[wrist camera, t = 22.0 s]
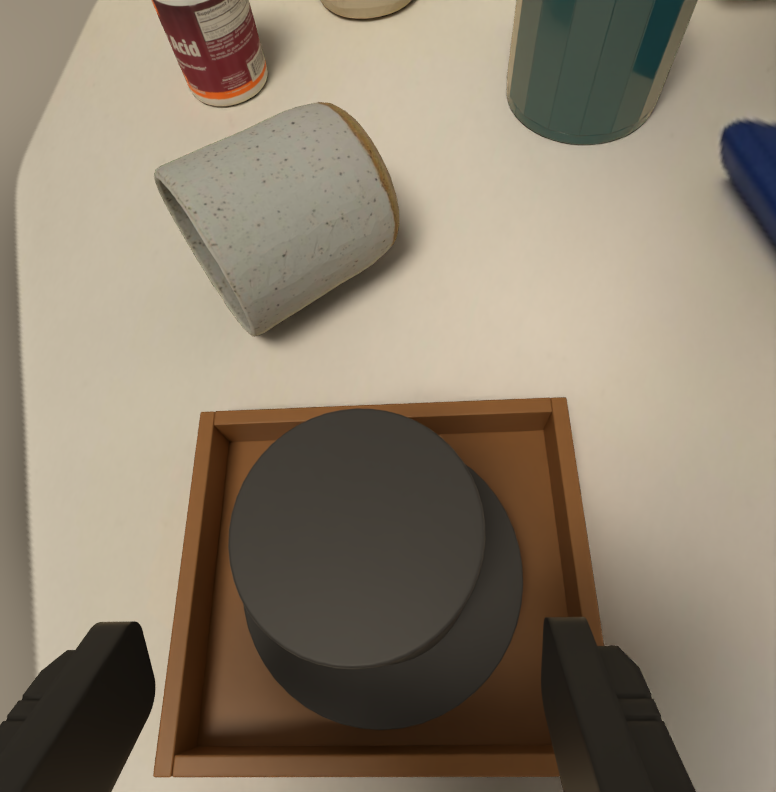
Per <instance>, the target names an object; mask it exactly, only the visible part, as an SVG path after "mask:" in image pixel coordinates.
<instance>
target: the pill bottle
mask: <svg viewBox="0 0 776 792" xmlns="http://www.w3.org/2000/svg"><path fill="white" fill-rule="evenodd" d="M152 3H153V5H154V7H155V9H156V11H157V14H158V17H159V19H160V21H161V24H162V26H163V28H164V31H165V33H166V35H167V38H168V40H169V42H170V45H171V47H172V49H173V51H174V54H175V56H176V58H177V61H178V63H179V66H180V68H181V70H182V72H183V75H184V77H185V79H186V81H187V83H188V86H189V88H190V90H191V92H192V94H193V95H194V96H195V97H196V98H197V99H198V100H200V101H201V102H203V103H205V104H209V105H213V106H231V105H235V104H238V103H241V102H244V101H246V100H248V99H250V98H251V97H253V96H255V95H256V94H257V93H258V92H259V91H260V90H261V89H262V87H263V86H264V84H265V82H266V79H267V74H268V71H267V65H266V61H265V57H264V53H263V50H262V46H261V43H260V39H259V36H258V33H257V28H256V25H255V21H254V17H253V14H252V10H251V7H250V3H249V0H152Z"/></svg>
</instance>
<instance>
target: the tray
mask: <svg viewBox="0 0 776 792" xmlns="http://www.w3.org/2000/svg"><path fill="white" fill-rule="evenodd" d="M355 408H361V409H377V410H384V411H389V412H393V413H396V414H400V415H403V416H406V417H408V418H410V419H413V420H415V421H417V422H419V423H421V424H423V425H424V426H426V427H428V428H430V429H431V430H432V431H434V432H435V433H436V434H437V435H439V436H440V437H441V438H443V439H444V440H445V441H446V442H447V443H448V444H449V445H450V446H451V447H452V448H453V449H454V450H455V452H456V453H457V454H458V456H459V457H460V458H461V459H462V461H463V462H464V463H465V464H466V465H467V466H469V467H470V468H471V469H472V470H474V471H475V472H476V473H477V474H478V475H479V476H480V477H481V478H482V479H483V480H484V481H485V482H486V483H487V485H488V486H489V487H490V488H491V490H492V491H493V492H494V493H495V495H496V496H497V497H498V499H499V501H500V502H501V504H502V506H503V507H504V509H505V511H506V512H507V515H508V517H509V519H510V521H511V524H512V526H513V528H514V531H515V534H516V538H517V541H518V544H519V548H520V554H521V560H522V567H523V593H522V605H521V609H520V614H519V618H518V623H517V626H516V629H515V632H514V634H513V637H512V640H511V643H510V645H509V647H508V649H507V650H506V652H505V654H504V656H503V658H502V660H501V662H500V663H499V665H498V666H497V667H496V669H495V670H494V672H493V673H492V674H491V676H490V677H489V678H488V680H487V681H486V682H485V683H484V684H483V685H482V686H481V687H480V688H479V689H478V690H477V691H476V692H475V693H474V694H473V695H472V696H470V697H469V698H468V699H467V700H465V701H464V702H463V703H461V704H460V705H459V706H457V707H456V708H454V709H452V710H450V711H449V712H447V713H445V714H444V715H442V716H440V717H437V718H435V719H432V720H430V721H427V722H425V723H422V724H419V725H414V726H410V727H406V728H401V729H389V730H373V729H360V728H356V727H351V726H347V725H343V724H340V723H337V722H334V721H332V720H329V719H327V718H324V717H322V716H320V715H318V714H317V713H315V712H313V711H311V710H310V709H308V708H306V707H305V706H303V705H302V704H301V703H300V702H298V701H297V700H296V699H294V698H293V697H292V696H291V695H289V694H288V693H287V692H286V690H285V689H284V688H283V687H282V686H281V685H280V684H279V683H278V682H277V681H276V680H275V679H274V677H273V676H272V674H271V673H270V672H269V670H268V669H267V667H266V666H265V665H264V663H263V661H262V659H261V657H260V655H259V653H258V652H257V650H256V648H255V645H254V643H253V640H252V637H251V635H250V632H249V629H248V625H247V621H246V617H245V612H244V605H243V602H242V600H241V598H240V597H239V594H238V591H237V588H236V586H235V583H234V580H233V576H232V571H231V567H230V561H229V550H228V541H229V527H230V520H231V514H232V511H233V507H234V504H235V501H236V497H237V495H238V493H239V490H240V488H241V486H242V483H243V481H244V480H245V478H246V476H247V475H248V473H249V471H250V469H251V468H252V467H253V465H254V464H255V463H256V461H257V460H258V459H259V457H260V456H261V455H262V454H263V453H264V452H265V451H266V450H267V449H268V447H269V446H270V445H271V444H272V443H274V442H275V441H276V440H277V439H278V438H280V437H281V436H282V435H283V434H285V433H286V432H288V431H289V430H291V429H292V428H294V427H295V426H297V425H299V424H301V423H303V422H305V421H307V420H309V419H311V418H314V417H317V416H320V415H322V414H325V413H329V412H334V411H338V410H345V409H355ZM545 617H585V618H586V619H587V621H588V623H589V626H590V628H591V631H592V634H593V636H594V639H595V641H596V644H597V646H604V642H603V635H602V629H601V622H600V616H599V609H598V603H597V596H596V590H595V583H594V576H593V570H592V563H591V557H590V550H589V544H588V537H587V531H586V524H585V517H584V511H583V504H582V498H581V491H580V485H579V478H578V472H577V465H576V458H575V452H574V445H573V439H572V432H571V426H570V419H569V413H568V406H567V399H566V398H565V397H561V398H551V399H550V398H532V399H507V400H483V401H458V402H433V403H409V404H384V405H359V406H335V407H310V408H285V409H260V410H236V411H216V412H201V414H200V422H199V429H198V437H197V445H196V452H195V460H194V467H193V475H192V483H191V490H190V498H189V506H188V513H187V521H186V529H185V536H184V544H183V552H182V559H181V567H180V575H179V582H178V590H177V598H176V605H175V613H174V620H173V628H172V636H171V643H170V651H169V659H168V666H167V674H166V682H165V689H164V697H163V705H162V712H161V720H160V728H159V735H158V743H157V751H156V758H155V766H154V774H153V776H154V777H171V776H173V777H560V774H559V770H558V766H557V762H556V758H555V754H554V750H553V745H552V741H551V737H550V733H549V729H548V725H547V721H546V717H545V712H544V707H543V700H542V690H541V666H542V645H543V625H544V619H545Z"/></svg>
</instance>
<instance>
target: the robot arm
mask: <svg viewBox="0 0 776 792" xmlns="http://www.w3.org/2000/svg"><path fill="white" fill-rule="evenodd" d="M541 690H542V700H543V707H544V712H545V717H546V721H547V725H548V729H549V733H550V737H551V741H552V745H553V750H554V754H555V758H556V762H557V766H558V770H559V774H560V779H561V783H562V787H563V791H564V792H696V791H695V789H694V787H693V785H692V782H691V780H690V778H689V776H688V774H687V771H686V769H685V767H684V765H683V763H682V761H681V758H680V756H679V754H678V752H677V750H676V747H675V745H674V743H673V741H672V739H671V736H670V734H669V732H668V730H667V728H666V726H665V723H664V721H662V720H661V715H660V712H659V710H658V708H657V706H656V704H655V701H654V699H652V698H651V693H650V691H649V688H648V686H647V684H646V682H645V680H644V677H643V675H642V673H641V671H640V669H639V667H638V666H637V665H636V664H635V663H634V662H633V661H632V660H631V659H630V658H629V657H628V656H627V655H626V654H625V653H624V652H623V651H622V650H621V649H620V648H619V647H618V646H597V644H596V641H595V639H594V636H593V634H592V631H591V628H590V626H589V623H588V621H587V619H586V618H585V617H545V619H544V625H543V645H542V666H541ZM154 697H155V678H154V674H153V670H152V666H151V662H150V658H149V654H148V650H147V646H146V642H145V639H144V635H143V631H142V628H141V626H140V624H139V623H138V622H99V623H96V624H95V625H94V626H93V627H92V628H91V629H90V630H89V632H88V633H87V635H86V636H85V637H84V639H83V640H82V642H81V643H80V644H79V646H78V647H77V649H76V650H67V651H66V652H64V653H63V654H62V655H61V656H59V657H58V658H57V659H56V660H54V661H53V662H52V663H51V664H49V665H48V666H47V667H46V668H44V669H43V670H42V671H41V672H40V673H39V675H38V676H37V677H36V679H35V680H34V681H33V683H32V684H31V685H30V686H29V688H28V689H27V691H26V692H25V693H24V694H23V698H22V700H21V701H18V702H17V704H16V705H15V706H14V708H13V709H12V710H11V712H10V713H9V714H8V716H7V720H6V721H3V722H2V723H1V725H0V792H111V791H112V789H113V787H114V785H115V783H116V781H117V779H118V777H119V775H120V773H121V771H122V769H123V767H124V765H125V763H126V761H127V759H128V757H129V755H130V753H131V751H132V749H133V747H134V745H135V743H136V741H137V739H138V737H139V735H140V733H141V731H142V729H143V727H144V725H145V723H146V721H147V719H148V717H149V714H150V712H151V709H152V706H153V702H154Z"/></svg>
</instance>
